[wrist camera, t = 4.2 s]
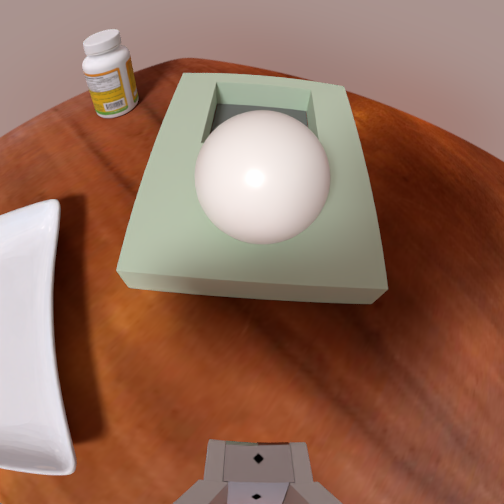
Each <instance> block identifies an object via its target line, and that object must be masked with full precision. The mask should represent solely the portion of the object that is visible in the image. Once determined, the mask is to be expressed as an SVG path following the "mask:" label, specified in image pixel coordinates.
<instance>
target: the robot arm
mask: <svg viewBox="0 0 504 504" xmlns="http://www.w3.org/2000/svg"><path fill="white" fill-rule="evenodd" d="M225 443H226V446H225ZM0 504H1V503H0ZM173 504H342V503H341V502H340V501H339V500H338V499H337V498H335V497H334V496H333V495H332V494H331V493H330V492H329V491H328V490H326V489H325V488H324V487H323V486H322V485H321V484H320V483H319V482H313V477H312V471H311V466H310V460H309V455H308V450H307V445H306V443H305V442H298V443H288V442H279V443H262V442H257V443H248V442H235V441H223V440H212V439H209V442H208V448H207V456H206V464H205V473H204V480H198V481H197V482H196V483H195V484H194V485H193V486H192V487H191V488H189V489H188V490H187V491H186V492H185V493H184V494H183V495H182V496H181V497H180V498H179V499H177V500H176V501H175V502H174V503H173Z"/></svg>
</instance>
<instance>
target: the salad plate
mask: <svg viewBox="0 0 504 504" xmlns="http://www.w3.org/2000/svg"><path fill="white" fill-rule="evenodd" d="M60 213H61V207H60V203H59V201H58V200H57V199H51V200H46V201H43V202H39V203H35V204H32V205H29V206H26V207H23V208H20V209H17V210H14V211H11V212H8V213H6V214H3V215H0V468H2V469H8V470H14V471H20V472H26V473H36V474H45V475H68V474H71V473H73V472H74V471H75V469H76V464H77V461H76V455H75V451H74V447H73V443H72V439H71V435H70V430H69V426H68V422H67V417H66V412H65V408H64V403H63V398H62V393H61V387H60V381H59V375H58V368H57V360H56V351H55V339H54V319H53V286H54V270H55V260H56V251H57V242H58V234H59V226H60Z"/></svg>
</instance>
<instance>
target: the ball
mask: <svg viewBox="0 0 504 504" xmlns="http://www.w3.org/2000/svg"><path fill="white" fill-rule="evenodd" d="M194 178H195V189H196V193H197V197H198V200H199V203H200V205H201V207H202V209H203V211H204V212H205V214H206V216H207V217H208V218H209V219H210V220H211V221H212V223H213V224H214V225H215V226H216V227H217V228H219V229H220V230H221V231H222V232H224V233H225V234H227V235H229V236H231V237H233V238H235V239H237V240H240V241H242V242H246V243H251V244H264V245H266V244H274V243H279V242H283V241H285V240H288V239H291V238H293V237H295V236H297V235H298V234H300V233H301V232H303V231H304V230H305V229H307V228H308V227H309V226H310V225H311V224H312V223H313V222H314V221H315V219H316V218H317V217H318V215H319V214H320V212H321V211H322V209H323V207H324V205H325V203H326V200H327V197H328V193H329V188H330V167H329V162H328V158H327V155H326V153H325V150H324V148H323V146H322V145H321V143H320V141H319V140H318V138H317V137H316V136H315V134H314V133H313V132H312V131H311V130H310V129H309V128H308V127H307V126H305V125H304V124H303V123H301V122H300V121H298V120H296V119H295V118H293V117H291V116H289V115H286V114H283V113H280V112H275V111H269V110H256V111H249V112H245V113H242V114H238V115H236V116H233V117H231V118H230V119H228V120H226V121H225V122H223V123H222V124H220V125H219V126H218V127H217V128H216V129H215V130H214V131H213V132H212V133H211V134H210V135H209V136H208V138H207V139H206V140H205V142H204V144H203V145H202V147H201V149H200V152H199V154H198V157H197V160H196V165H195V172H194Z"/></svg>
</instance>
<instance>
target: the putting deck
mask: <svg viewBox="0 0 504 504" xmlns="http://www.w3.org/2000/svg"><path fill="white" fill-rule="evenodd" d="M216 105H217V108H216ZM215 110H216V113H215ZM256 110H269V111H275V112H280V113H283V114H286V115H289V116H291V117H293V118H295V119H296V120H298V121H300V122H301V123H303V124H304V125H305V126H307V120H308V126H307V127H308V128H309V129H310V130H311V131H312V132H313V133H314V134H315V136H316V137H317V138H318V140H319V141H320V143H321V145H322V146H323V148H324V150H325V153H326V155H327V158H328V162H329V167H330V188H329V193H328V197H327V200H326V203H325V205H324V207H323V209H322V211H321V212H320V214H319V215H318V217H317V218H316V219H315V221H314V222H313V223H312V224H311V225H310V226H309V227H308V228H307V229H305V230H304V231H303V232H301V233H300V234H298V235H297V236H295V237H293V238H291V239H288V240H285V241H283V242H279V243H274V244H266V245H264V244H251V243H246V242H242V241H240V240H237V239H235V238H233V237H231V236H229V235H227V234H225V233H224V232H222V231H221V230H220V229H219V228H217V227H216V226H215V225H214V224H213V223H212V221H211V220H210V219H209V218H208V217H207V216H206V214H205V212H204V211H203V209H202V207H201V205H200V203H199V200H198V197H197V193H196V189H195V178H194V172H195V165H196V160H197V157H198V154H199V152H200V149H201V147H202V145H203V144H204V142H205V140H206V139H207V138H208V136H209V135H210V132H211V133H212V132H213V131H214V130H215V129H216V128H217V127H218V126H219V125H220V124H222V123H223V122H225V121H226V120H228V119H230V118H231V117H233V116H236V115H238V114H242V113H245V112H249V111H256ZM306 112H307V117H306ZM214 114H215V117H214ZM213 118H214V122H213ZM212 123H213V126H212ZM211 127H212V131H211ZM116 271H117V272H118V274H119V275H120V276H121V278H122V279H123V281H124V282H125V283H126V285H127V286H128V287H129V288H135V289H144V290H154V291H164V292H175V293H186V294H197V295H209V296H222V297H235V298H249V299H265V300H282V301H300V302H322V303H348V304H372V303H373V302H375V301H376V300H377V299H378V298H379V297H380V296H381V295H382V294H383V293H385V292H386V291H387V290H388V284H387V276H386V269H385V262H384V255H383V249H382V243H381V237H380V231H379V225H378V220H377V214H376V209H375V204H374V199H373V194H372V190H371V185H370V181H369V176H368V172H367V167H366V163H365V159H364V155H363V151H362V147H361V143H360V140H359V136H358V132H357V128H356V125H355V121H354V118H353V114H352V111H351V108H350V104H349V101H348V98H347V95H346V91H345V88H344V86H338V85H333V84H326V83H320V82H313V81H306V80H299V79H290V78H281V77H271V76H259V75H245V74H223V73H183V75H182V77H181V80H180V82H179V84H178V86H177V89H176V91H175V93H174V96H173V98H172V101H171V103H170V105H169V108H168V110H167V113H166V115H165V118H164V120H163V123H162V125H161V128H160V131H159V133H158V136H157V138H156V141H155V144H154V147H153V149H152V152H151V155H150V158H149V161H148V164H147V166H146V169H145V172H144V175H143V178H142V181H141V184H140V187H139V191H138V194H137V197H136V200H135V203H134V207H133V210H132V213H131V217H130V220H129V224H128V227H127V231H126V235H125V238H124V242H123V246H122V250H121V254H120V257H119V261H118V266H117V270H116Z"/></svg>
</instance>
